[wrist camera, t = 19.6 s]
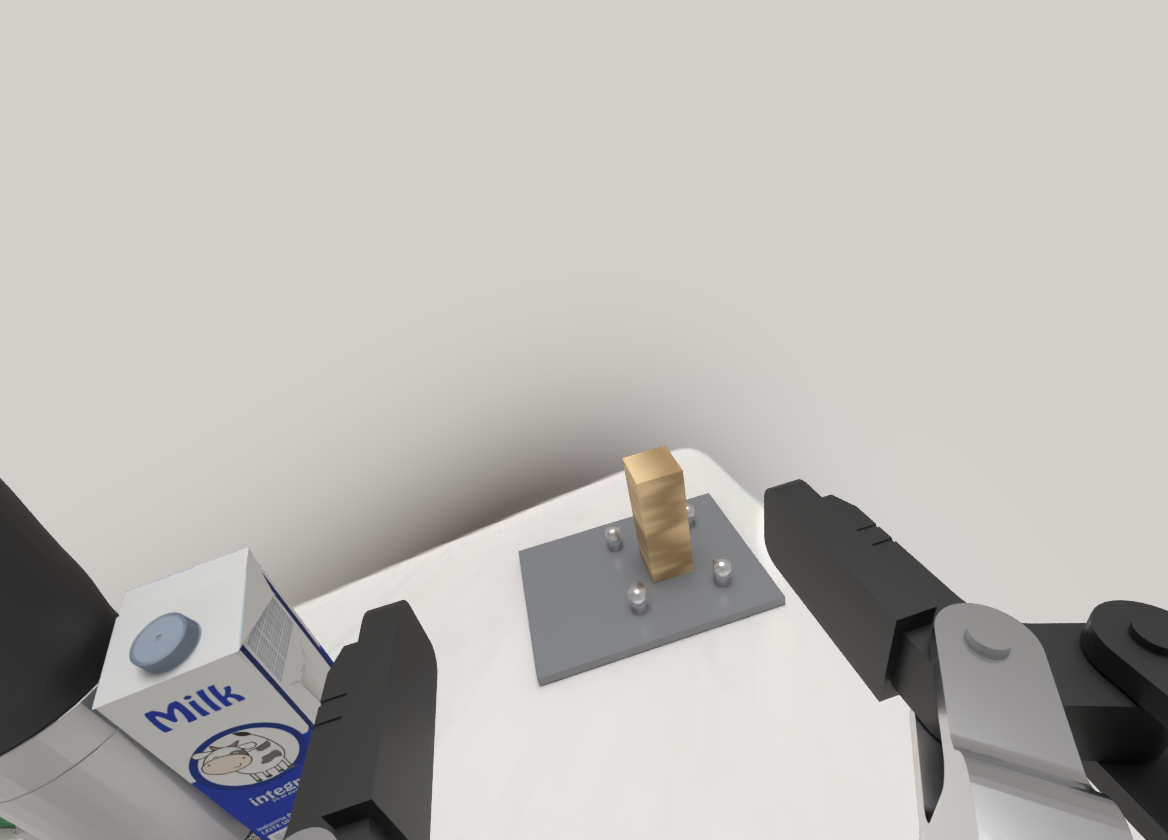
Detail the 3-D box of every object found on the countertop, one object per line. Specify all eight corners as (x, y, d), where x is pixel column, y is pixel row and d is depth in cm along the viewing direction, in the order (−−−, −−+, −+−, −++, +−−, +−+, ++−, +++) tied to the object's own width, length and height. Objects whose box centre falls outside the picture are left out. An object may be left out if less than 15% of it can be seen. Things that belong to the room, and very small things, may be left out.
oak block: (653, 583, 46) (636, 484, 40) (640, 553, 49) (622, 458, 43) (693, 570, 46) (682, 470, 40) (677, 542, 49) (665, 445, 43)
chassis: (540, 686, 40) (529, 661, 39) (521, 557, 53) (512, 534, 51) (784, 604, 42) (785, 576, 41) (709, 499, 55) (707, 475, 54)
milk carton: (376, 714, 41) (248, 544, 31) (374, 800, 35) (217, 627, 25) (287, 754, 40) (123, 589, 29) (271, 851, 34) (61, 688, 24)
